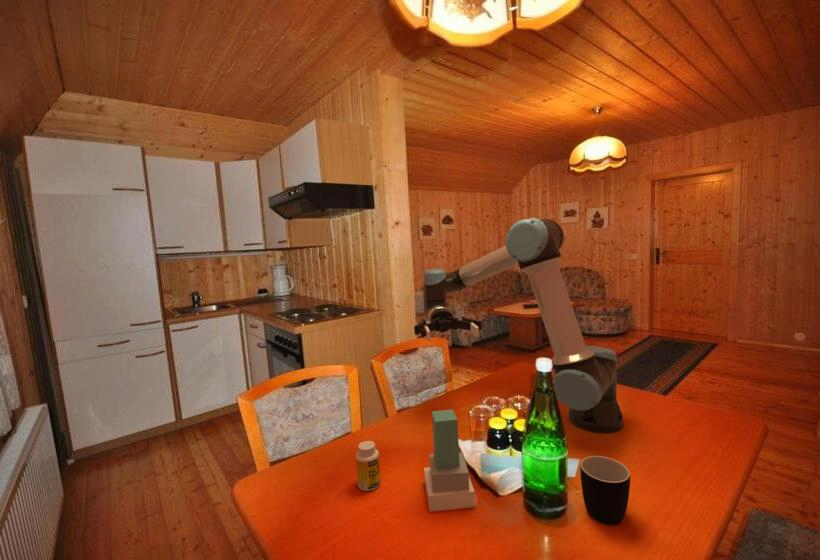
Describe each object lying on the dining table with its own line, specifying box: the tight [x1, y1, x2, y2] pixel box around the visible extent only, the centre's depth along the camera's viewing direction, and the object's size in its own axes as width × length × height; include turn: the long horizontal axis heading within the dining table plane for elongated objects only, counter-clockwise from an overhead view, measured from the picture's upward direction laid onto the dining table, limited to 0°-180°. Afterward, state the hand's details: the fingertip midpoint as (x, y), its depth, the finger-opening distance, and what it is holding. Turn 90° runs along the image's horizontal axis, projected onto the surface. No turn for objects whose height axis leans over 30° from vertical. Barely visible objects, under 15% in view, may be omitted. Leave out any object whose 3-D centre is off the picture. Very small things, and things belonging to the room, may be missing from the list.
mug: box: [579, 455, 631, 526], centre depth 77 cm, size 12×9×10 cm
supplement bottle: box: [355, 440, 381, 492], centre depth 89 cm, size 6×6×10 cm
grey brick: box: [429, 451, 470, 492], centre depth 85 cm, size 8×8×4 cm
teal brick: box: [431, 409, 460, 469], centre depth 84 cm, size 5×5×11 cm
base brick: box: [423, 466, 476, 512], centre depth 85 cm, size 10×10×4 cm
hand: (453, 334), depth 102 cm, fingers open, 13 cm apart
